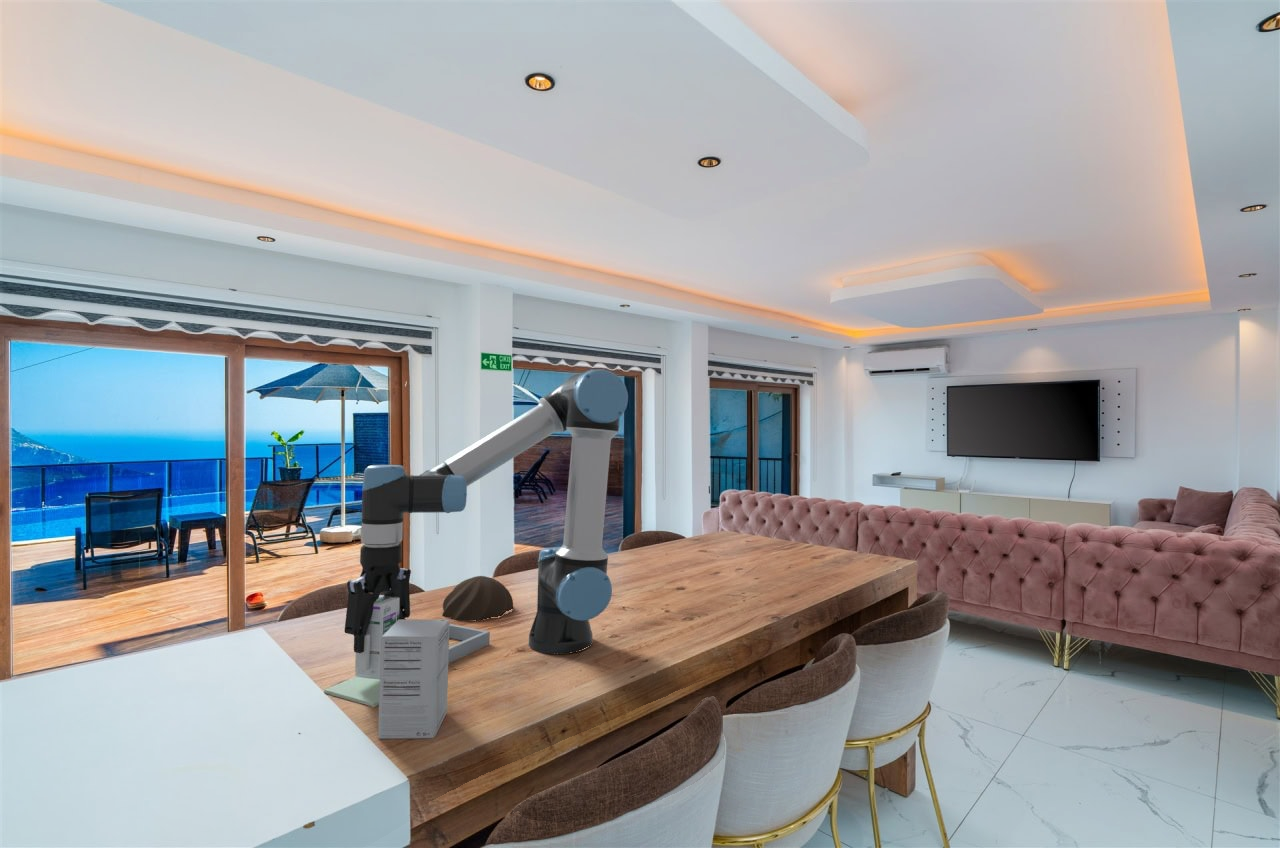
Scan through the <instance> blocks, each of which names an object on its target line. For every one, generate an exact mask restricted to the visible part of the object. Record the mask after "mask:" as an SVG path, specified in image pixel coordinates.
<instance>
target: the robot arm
mask: <svg viewBox="0 0 1280 848" xmlns="http://www.w3.org/2000/svg"><path fill="white" fill-rule="evenodd" d="M628 393H629V392H628V390H627V386H626V384H625V382H623V380H622V379H621V377H619V376H618V375H617V374H616V373H615V372H613V371H610V370H608V369H600V368H599V369H597V368H596V369H595V368H594V369H592V368H591V369H588V370H585V371H584V372H581V373H578V374H574V375H572V376H570V377H569V378H567V379H566V380H565V381H563V382H562V383H561V384H560V385H558V386H557V387H556V388H554V389H553V390H552V391H550V392H549V393H547V394H546V395H544V396H542V397H541V398H539V400H538V401H539V402H538V404H537V405H536V406H534V407H532V408H530V409H529V410H527V411H525V412H524V413H522V414H520V415H519V416H518V417H516V418H514V419H512V420H511V421H509V422H507V423H506V424H504V425H503V426H500V427H499V428H498V429H496V430H494V431H492V432H491V433H489V434H488V435H486V436H484V437H483V438H481V439H480V440H478V441H476V442H473V444H470V446H468V447H466V448H465V449H462V450H461V451H459V452H458V453H456V454H454V455H452V456H451V457H449V458H448V459H445V460H444V461H443V462H442V463H439V464H437V465H436V466H434V467H433V468H431V469H428V470H425V471H423V472H422V473H420V474H419V475H410V474H406V471H405V467H404V465H399V464H372V465H368V466H367V467H365V469H364V471H363V483H362V490H361V491H362V493H361V494H362V495H361V498H362V499H361V531H360V534H361V535H360V543H362V545H361V546H360V553H359V554H360V555H359V557H360V558H359V563H360V565H361V567H362V568H361V573H360V575H359V577H358V578H356V579H353V580H351V579H349V580H347V583H346V587H347V591H348V595H347V596H348V597H347V605H346V613H345V614H346V615H345V623H344V633H345V634H349V635H352V636H353V652H354V653H355V661H356V667H354V668H359V669H362V670H368V669H369V655H370V634H366V633H367V630H368V626H369V623H370V619H371V616H372V613H373V605H374V602H376V600H377V599H378V598H379V595H381V593H382V595H384V596H389V597H399V598H400V602H399V620H400V619H409V618H410V616H411V603H410V596H411V595H410V578H411V574H412V570H411V569H410V568H404V567H400V565H399V564H400V563H402V559H403V558H402V556H403V545H402V544H401V542H402V541H403V534H404V533H403V531H404V529H403V527H404V526H403V524H404V514H413V513H415V514H416V513H420V514H421V513H425V514H426V513H432V514H433V513H446V514H450V513H459V512H462V511H464V510H465V508H466V506H467V498H468V497H467V496H468V493H467V492H468V491H467V489H468V487H469V486H470V485H471V484H472V485H473V484H474V483H475V482H476V481H478V480H480V479H481V478H483V477H485V476H487V475H488V474H489V473H491V472H494V470H496V469H498V468H499V467H501V466H503V465H504V464H506V463H508V462H509V461H511V460H512V459H514V458H516V457H517V456H519V455H520V454H522V453H523V452H525V451H527V450H528V449H530V448H532V447H533V446H535V445H536V444H538V443H539V442H542V441H543V440H544V439H546V438H548V437H550V436H551V435H552V434H555V433H560V434H562V433H564V432H565V431H567V432H569V434H570V435H571V446H570V447H571V449H570V460H569V470H568V484H567V498H566V507H565V517H564V529H563V530H564V532H563V543H562V545H561V546H555V547H554V546H553V547H544V548H542V549H541V550H540V551H539V553H538V560H537V564H538V567H537V608H536V609H537V611H536V614H535V617H534V619H533V623H532V626H531V628H530V632H529V633H528V634H529V635H528V646H529V648H531V649H532V650H534V651H536V652H539V653H545V654H549V653H551V654H552V655H561V654H560V653H568V654H571V653H570V652H575V653H577V652H576V651H579V650H582V649H584V648H586V647H588V646H590V645H591V643H592V644H593V635H594V634H593V630H592V628H591V623H590V620H592V619H594V618H596V617H599V616H600V614H601V613H603V612H604V611H605V610H606V608H607V607H608V606H609V604H610V601H611V599H612V597H613V586H612V582H611V580H610V577H609V576H608V574H607V573H608V564H609V563H608V561H609V554H608V553H607V552H606V551H605V549H603V537H604V528H605V526H604V525H605V514H606V501H607V491H608V478H609V468H610V465H609V464H610V457H611V456H610V453H611V441H612V439H613V438H614V437H615V436H617V434H619V430H620V429H619V428H620V418H621V416H623V414H624V413H625V410H626V409H627V406H628V402H629V394H628ZM360 627H361V628H360ZM591 646H592V645H591ZM591 646H590V647H591ZM554 653H555V654H554ZM557 653H558V654H557ZM551 654H550V655H551Z"/></svg>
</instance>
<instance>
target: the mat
mask: <svg viewBox="0 0 1280 848" xmlns="http://www.w3.org/2000/svg"><path fill="white" fill-rule="evenodd" d="M379 691H380V680H379V679H369V678H361V677H356V676H353V677H352V678H350V679H347V680H345V681H343V682H342V681H341V682H340V683H337V684H335V685H332V686H330V687H327V688H326V689H324V692H323V693H324V694H327V695H330V696H333V697H337V698H339V699H340V698H341V699H343V700H344V699H345V700H348V701H352V702H355V703H359V704H363V705H367V706H368V707H373V708H376V707H378V706H379Z"/></svg>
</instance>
